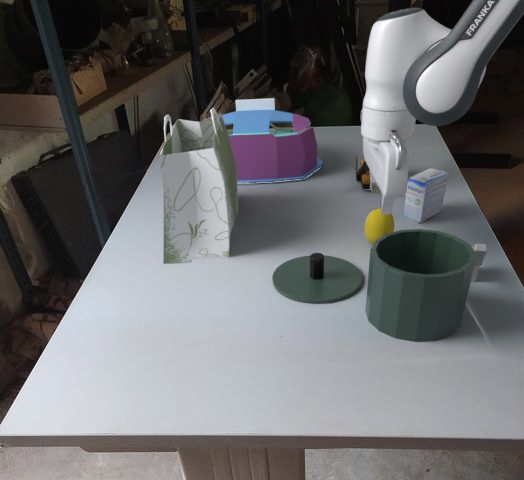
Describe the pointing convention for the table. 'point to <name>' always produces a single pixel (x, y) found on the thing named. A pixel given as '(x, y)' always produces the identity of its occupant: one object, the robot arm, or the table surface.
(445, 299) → the cylinder
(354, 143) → the table surface
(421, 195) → the medicine box
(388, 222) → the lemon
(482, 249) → the lighter
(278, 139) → the stadium
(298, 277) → the tin lid
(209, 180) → the grocery bag
